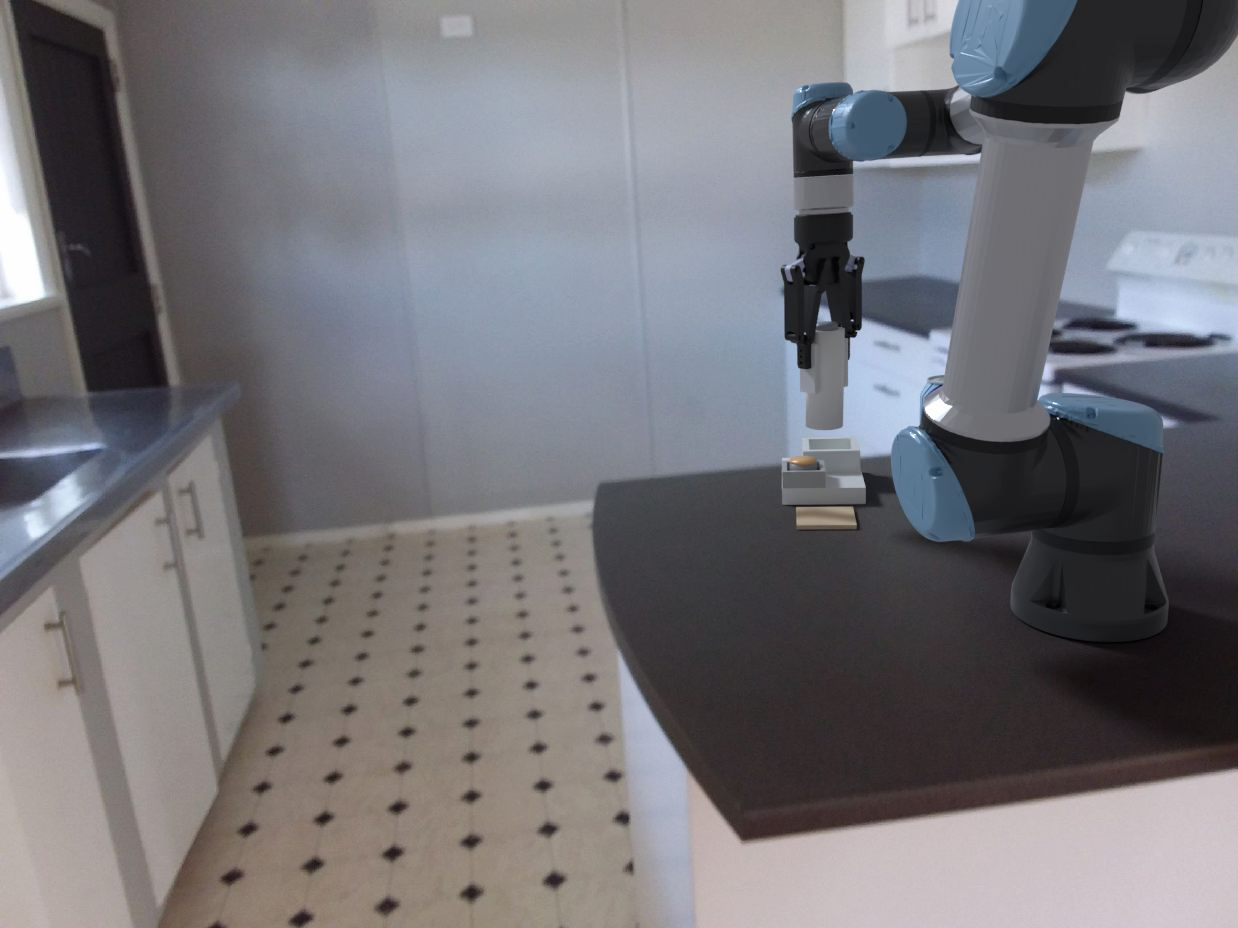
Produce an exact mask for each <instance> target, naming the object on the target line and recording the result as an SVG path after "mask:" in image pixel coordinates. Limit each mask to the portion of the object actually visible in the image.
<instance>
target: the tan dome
mask: <svg viewBox="0 0 1238 928" xmlns="http://www.w3.org/2000/svg"><path fill="white" fill-rule="evenodd" d="M789 458H790V471H799V470H817V458H815V457H812V456H802V455H797V456H792V457H789Z"/></svg>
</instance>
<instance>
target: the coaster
mask: <svg viewBox="0 0 1238 928" xmlns="http://www.w3.org/2000/svg"><path fill="white" fill-rule="evenodd" d="M795 518H796V519H795V520H796V521H795V522H796V530H804V531H805V530H857V529H858V524H857V520H856V515H855V511H854V506H796V507H795Z"/></svg>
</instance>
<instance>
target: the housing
mask: <svg viewBox="0 0 1238 928" xmlns="http://www.w3.org/2000/svg"><path fill="white" fill-rule="evenodd" d="M801 444H802V445H801V446H802V449H801V451H802V452H801V453H802V454H801V456H812V457H815V458H817V470H799V471H790V458H791V457H782V458H781V504H782V506H787V505H790V506H793V505H794V506H795V505H796V506H797V505H800V506H801V505H803V506H804V505H805V506H806V505H811V506H812V505H866V504H867V503H866V502H867V497H866V495H867V491H866V489H867V488H866V487H867V486H866V484H865V481H864V476H863V472H862V467H861V448H860V445H859V442H858V437H857V436H829V437H828V436H826V437H825V436H823V437H802V438H801Z"/></svg>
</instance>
